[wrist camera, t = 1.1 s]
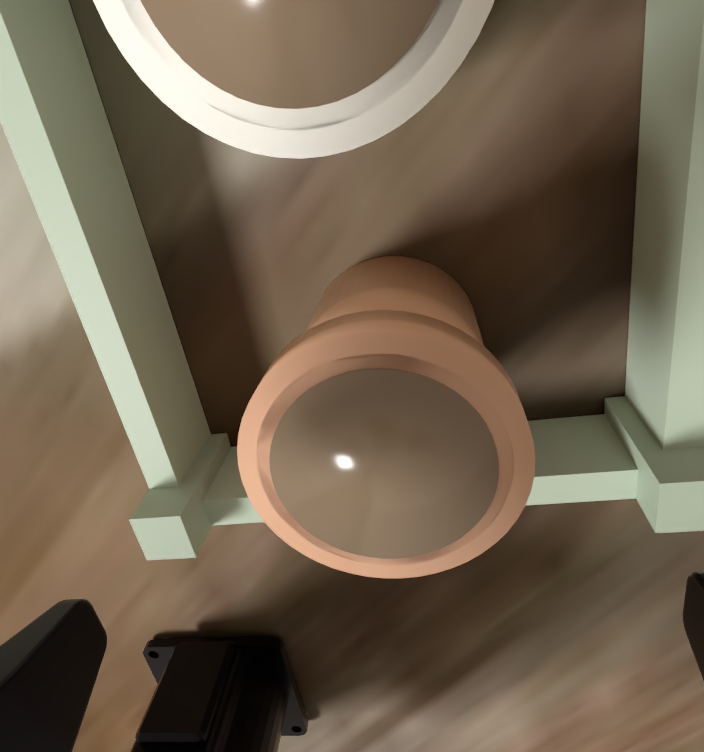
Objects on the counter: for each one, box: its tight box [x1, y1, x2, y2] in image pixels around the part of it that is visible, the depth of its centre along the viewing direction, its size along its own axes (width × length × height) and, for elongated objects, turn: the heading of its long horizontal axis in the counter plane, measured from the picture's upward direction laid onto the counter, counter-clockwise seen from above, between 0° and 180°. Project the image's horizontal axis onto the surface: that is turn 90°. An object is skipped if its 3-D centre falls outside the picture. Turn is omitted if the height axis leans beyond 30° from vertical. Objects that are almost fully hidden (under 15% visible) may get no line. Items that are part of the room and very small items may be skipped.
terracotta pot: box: [237, 256, 536, 578], centre depth 14 cm, size 6×6×7 cm
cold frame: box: [0, 0, 704, 560], centre depth 13 cm, size 18×16×4 cm
